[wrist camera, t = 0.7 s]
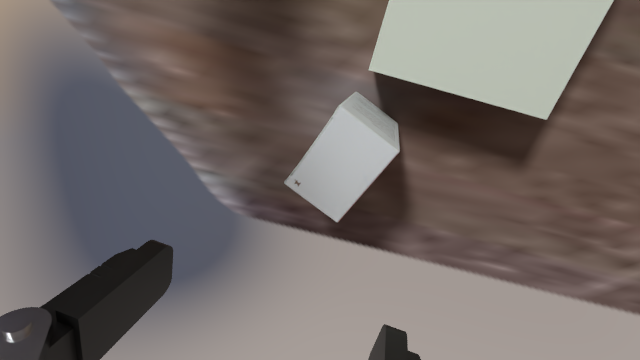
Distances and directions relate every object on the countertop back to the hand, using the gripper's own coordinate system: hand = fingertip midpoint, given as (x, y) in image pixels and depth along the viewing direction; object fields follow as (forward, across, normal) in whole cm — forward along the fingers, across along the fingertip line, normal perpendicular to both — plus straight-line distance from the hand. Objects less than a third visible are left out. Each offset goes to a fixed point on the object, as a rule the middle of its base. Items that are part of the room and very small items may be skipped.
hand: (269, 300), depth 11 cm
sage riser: (+25, -7, -14) cm, 29 cm away
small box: (+24, 0, 0) cm, 25 cm away
